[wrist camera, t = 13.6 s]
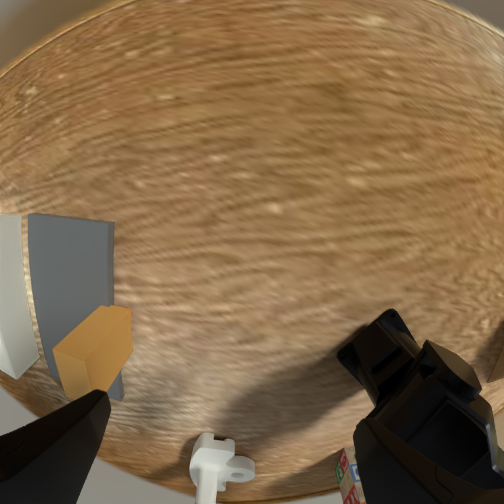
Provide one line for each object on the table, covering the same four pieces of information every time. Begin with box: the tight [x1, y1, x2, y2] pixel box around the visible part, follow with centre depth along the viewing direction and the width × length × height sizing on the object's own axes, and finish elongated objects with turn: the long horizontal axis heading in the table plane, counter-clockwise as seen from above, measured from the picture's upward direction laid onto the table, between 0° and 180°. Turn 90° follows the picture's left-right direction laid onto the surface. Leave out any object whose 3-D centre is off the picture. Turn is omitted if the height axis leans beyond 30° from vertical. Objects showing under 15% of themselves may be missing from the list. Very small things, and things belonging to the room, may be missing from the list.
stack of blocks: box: [335, 446, 366, 504], centre depth 20 cm, size 21×6×12 cm, turn 91°
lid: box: [28, 213, 133, 401], centre depth 17 cm, size 11×17×9 cm, turn 172°
